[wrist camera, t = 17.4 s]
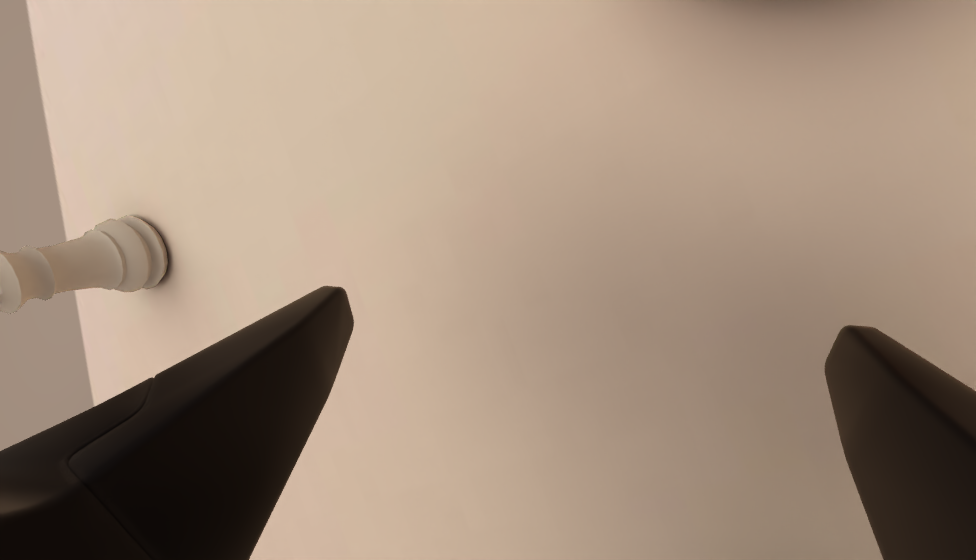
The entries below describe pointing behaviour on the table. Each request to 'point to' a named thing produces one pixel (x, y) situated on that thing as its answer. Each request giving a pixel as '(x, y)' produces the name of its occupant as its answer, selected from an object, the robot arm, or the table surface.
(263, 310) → the table surface
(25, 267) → the rook chess piece
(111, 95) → the table surface
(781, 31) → the table surface
